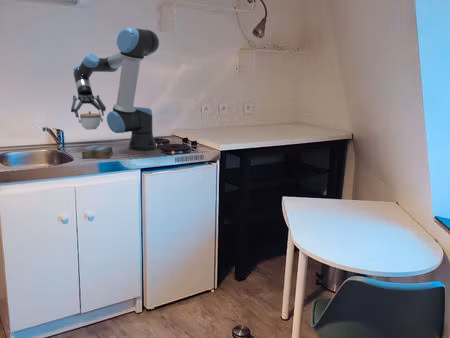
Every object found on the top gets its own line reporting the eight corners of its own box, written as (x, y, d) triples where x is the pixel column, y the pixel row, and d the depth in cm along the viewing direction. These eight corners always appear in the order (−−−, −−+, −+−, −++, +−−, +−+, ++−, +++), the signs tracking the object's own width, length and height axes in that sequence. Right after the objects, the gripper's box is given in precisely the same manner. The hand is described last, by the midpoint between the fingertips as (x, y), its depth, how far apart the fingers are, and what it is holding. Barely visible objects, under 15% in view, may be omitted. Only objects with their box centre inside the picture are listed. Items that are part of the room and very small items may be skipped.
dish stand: (112, 153, 221) (112, 145, 219) (109, 158, 208) (108, 149, 207) (87, 153, 219) (86, 145, 218) (82, 158, 206) (81, 150, 205)
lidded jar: (97, 130, 219) (96, 112, 217) (77, 130, 219) (76, 112, 217) (103, 127, 229) (102, 110, 227) (84, 127, 230) (83, 110, 227)
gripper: (104, 93, 239) (112, 124, 229) (61, 94, 228) (67, 126, 218) (106, 84, 233) (114, 115, 223) (62, 85, 222) (68, 117, 212)
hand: (91, 120), depth 221 cm, fingers closed on lidded jar, 11 cm apart
